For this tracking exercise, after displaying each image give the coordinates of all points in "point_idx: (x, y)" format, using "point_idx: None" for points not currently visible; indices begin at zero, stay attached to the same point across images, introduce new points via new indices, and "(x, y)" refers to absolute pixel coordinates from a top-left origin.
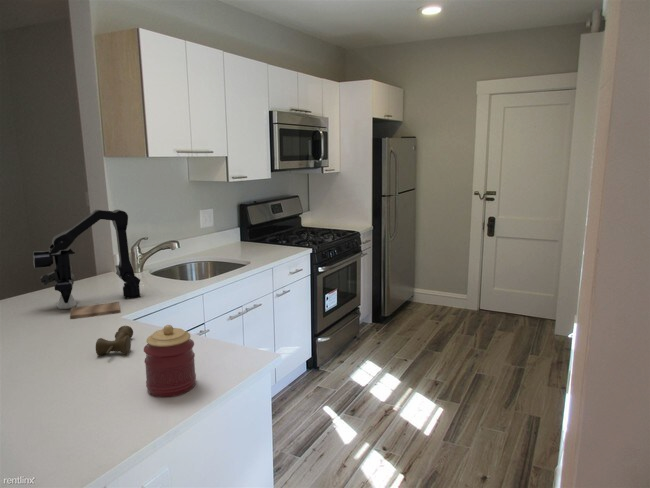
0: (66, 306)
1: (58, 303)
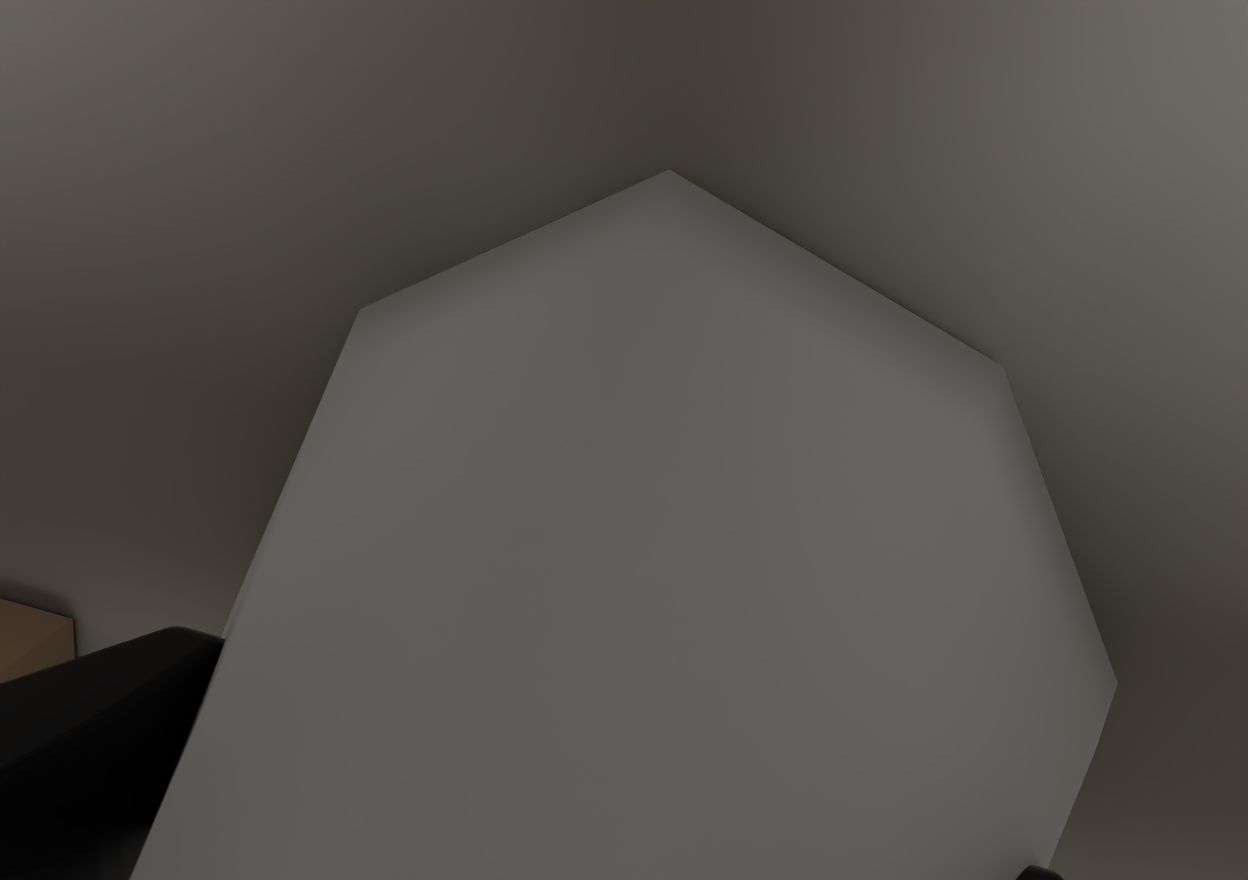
0: (247, 573)
1: (584, 337)
